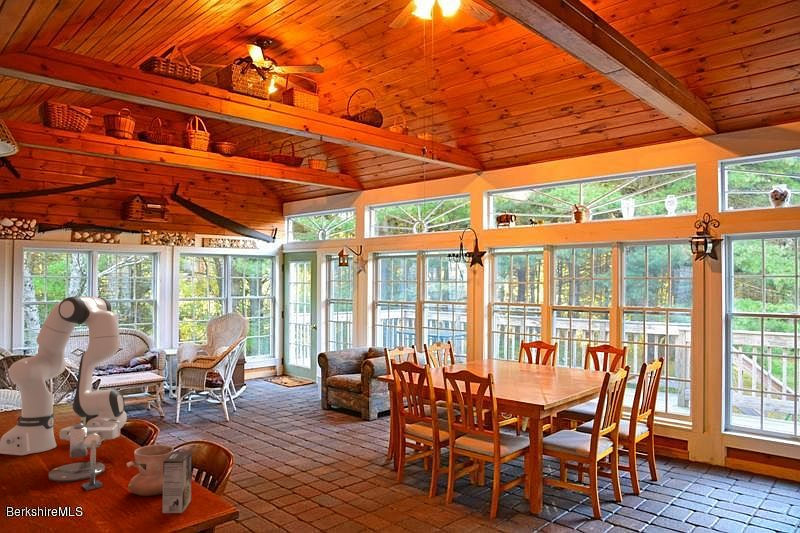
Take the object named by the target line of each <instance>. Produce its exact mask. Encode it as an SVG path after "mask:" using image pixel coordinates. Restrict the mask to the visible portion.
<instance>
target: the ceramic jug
mask: <svg viewBox="0 0 800 533" xmlns="http://www.w3.org/2000/svg"><path fill="white" fill-rule="evenodd" d="M174 450H175V449H174V447H173V446H172V445H168V444H151V445H144V446H141V447H138V448H136V449H135V450H134V451H133V454H134V457H133V458H134V461H133V460H131V461H129V462H127V463H126V467H128V468H131V467H135V468H137V470H138V471H139V472H138V473H137V474H136V475H134V476H133V477H132V478H131V479H130V481H129V483H128V485H127V489H128V490H129V491H130V492H131V493H132V494H135V495H137V496H141V497H152V496H153V497H154V496H158V495H161V494H162V495H163V461H164V460H165V459H166V458H167V457H168V456H169V455H170V454H171V453H172V452H175V451H174Z"/></svg>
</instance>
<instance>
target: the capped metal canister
mask: <svg viewBox="0 0 800 533" xmlns="http://www.w3.org/2000/svg"><path fill="white" fill-rule="evenodd" d="M73 426H74V427H73V428H71V429H70V441H69V457H70V458H73V459H75V458H77V459H78V458H82V457H85V456H87V455H88V448H87V447H86V446H85V444H84V440H85V436H86V435H87V426H84V423H81V422H76V423H74V424H73Z"/></svg>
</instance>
